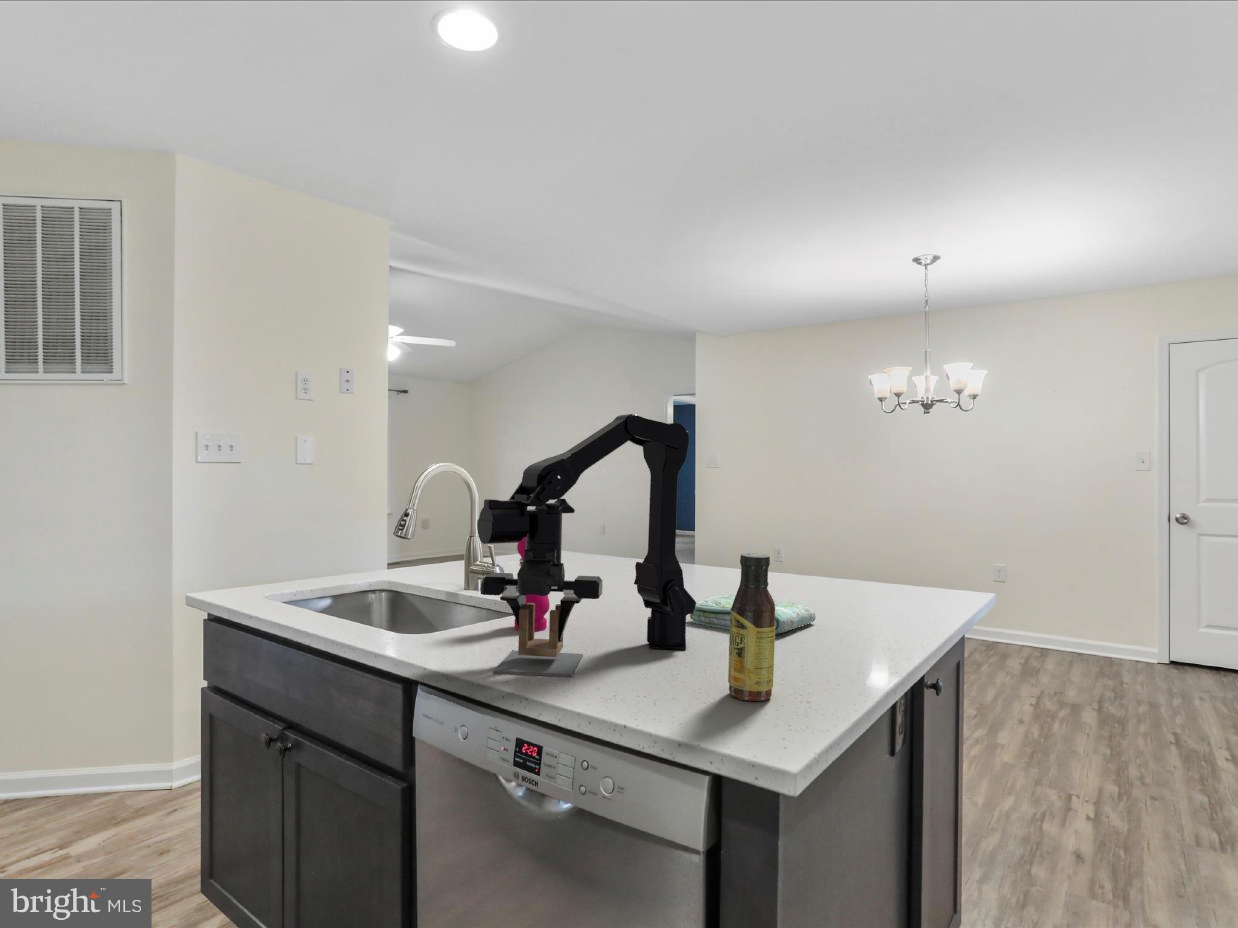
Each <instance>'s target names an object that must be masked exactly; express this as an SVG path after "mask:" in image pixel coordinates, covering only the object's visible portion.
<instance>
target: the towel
mask: <svg viewBox="0 0 1238 928" xmlns="http://www.w3.org/2000/svg"><path fill="white" fill-rule="evenodd" d="M735 596H736V594H735V595H732V594H720V595H718V596H712V597H708V598H706V599H703V600H702V601H700V602H696V606H695V609H694V612H693V614H689V619H690V620H693V621H692V622H693V624H694V623H696V624H695V625H699V624H702V625H701V626H704V625H706V626H705V627H710V626H712V627H711V628H716V627H719V628H718V629H722V628H723V629H724V630H728V629H730V612H731V607H732V604H733V602H734V599H735ZM773 601H774V603H775V635H779V634H782V633H787V632H789V630H790V631H792V629H793V630H795V629H798V628H797V627H799V626H802V625H805V624H808V623H811V622H812V623H814V622H815V621H816V617H817V615H816V613H815V611H813V610H812V609H811V608H809V607H807V606H805V605H802V604H799V603H794V602H790V601H789V602H788V601H777V600H773ZM812 623H811V624H812ZM805 626H806V625H805ZM802 627H803V626H802ZM799 628H800V627H799Z"/></svg>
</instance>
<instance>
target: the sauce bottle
mask: <svg viewBox="0 0 1238 928" xmlns="http://www.w3.org/2000/svg"><path fill="white" fill-rule="evenodd" d="M739 559H740V560H739V563H740V567H741V568H740V581H739V586H738V588H737V590H736V594H735V599H734V602H733V604H732V607H731V612H730V630H729V636H728V637H729V640H728V641H729V644H728V645H729V646H728V673H727V677H728V678H727V682H728V684H729V686H728V691H729V694H730V695H731V696H732V697H734V698H737V699H738V700H741V701H747V702H761V701H762V702H763V701H767V700H770V699H771V697H772V695H773V691H772V690H773V687H774V674H775V673H774V672H775V667H774V666H775V645H776V644H775V643H776V634H775V603H774V601H775V600H774V598H773V596H772V594H771V593H770V591H769V589H768V586H769V567H770V565H771V556H770V555H768V554H766V553H759V552H757V553H756V552H744V553H741V554H740V557H739Z"/></svg>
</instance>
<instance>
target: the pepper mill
mask: <svg viewBox="0 0 1238 928" xmlns="http://www.w3.org/2000/svg"><path fill="white" fill-rule="evenodd" d="M525 549H526V537H523V539H522V541H521V542H519V543H517V544H516V550H517V553H518V555H520V558H519V564H518V565H519V567H521V565H522V563H523V560H524V553H525ZM527 603H535V626H534V632H540V630H541V631H543V630H546V629H547V627H548V626H547V625H548V619H547V618H546V617H545V615H546V614H547V613H548V612H549V610H550V598H549V595H547V596H539V595H529V594H528V595H526V604H527ZM514 629H515V630H517V631H519V629H518V625H517V622H516V619H515V618H514Z"/></svg>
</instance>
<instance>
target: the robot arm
mask: <svg viewBox="0 0 1238 928" xmlns="http://www.w3.org/2000/svg"><path fill="white" fill-rule="evenodd" d="M627 442H630V443H632V444H633V445H636V446H639V447H642V452H643V453H642V454H643V459H644V461H645V463H646V465H647V468H648V470H649V473H650V482H649V483H650V484H649V507H648V508H649V509H648V510H649V511H648V512H649V513H648V535H647V536H648V539H647V541H648V543H647V553H646V556H644V557H645V558H644V559H643V560H642V561H641V562H640V561H636V562H635V564H634V565H635V566H634V568H635V578H634V579H635V580H634V582H633V585H635V586H636V590H637V594H638V595H639V596H640V597H641V598H642V599H641V600H642V602H643V606H644V608H646V609H650V616H648V617H647V623H646V625H647V629H646V630H647V631H646V642H647V644H648V643H649V645H648V648H650V649H663V650H665V649H666V650H668V649H669V650H687V639H686V637H687V636H686V635H687V634H686V633H687V628H686V627H687V616H688V615H690V614H693V612H694V609H695V606H696V603H697V602H696V600H695V599H694V597H693V596H692V595H691V594H690V593H689V591H688V590H687V589H686V588H685V583H684V582H685V581H684V574H683V569H682V567H681V564H680V562H679V559H678V557H677V553H676V548H677V547H676V543H677V538H676V537H677V518H678V517H677V513H678V511H677V509H678V488H679V487H678V485H679V472H680V471H681V469H682V468H683V466H684V463H685V462H686V460H687V457H688V452H689V447H690V446H689V445H690V434H689V430H686V428H685V427H684V426H683V425H682V424H681V423H678V422H670V423H666V422H662V421H659V420H654V419H650V418H646V417H643V416H640V415H638V414H635V413H629V414H628V413H626V414H619V415H617V416H616V417H615V418H614V419H613V420H612V421H610V422H609V423H608V424H606V425H604V426H603V427H601V428H599V429H598V430H597V431H595V432H594V433H592V434H591V435H589V436H587V437H586V438H584V439H583V440H582V441H580V442H579V443H576V445H574V446H573V447H571V448H570V449H568V450H566V451H564V452H562V453H560V454H557V455H556V454H555V455H553V456H549V457H546V458H544V459H542V460H540V461H537V462H534V463H532V464H530V465H528V466H527V467H526V468H525V469H524V470H523V471H522V478H521V482H520V483H519V484H518V486H517V487H516V489H515V490H514V492H513V493H512V494H511V496H510V497H509V498H508V499H507V500H502V499H501V500H499V499H491V498H489V499H488V498H486V499H484V500H483V507H482V509H481V510H480V513H479V517H478V519H477V523H476V525H477V526H476V527H477V528H476V529H477V535H478V538H479V540H480V542H481V544H483V545H493V544H499V545H500V544H515V543H516V544H518V543H519V542H521V541H522V539H523V537H526V549H525V553H524V560H523V563H522V565H521V566H519V567H520V568H519V570H518V572H517V574H516V578H514V574H513V573H514V572H513V573H512V572H491V573H489V574H487V575H486V576H484V577H483V578H482V579H481V584H480V595H483V596H499V599H500V601H501V602H506V603H507V605H508V606H509V607H510V609H511V611H512V614H513V616H514V620H515V619H516V622H517V625H518V629H519V610H520V609H526V595H528V594H529V595H539V596H547V595H548V596H549V595H550V594H551V592H553V593H555V592H556V593H558V592H559V593H563V595H564V596H562V598H561V599H560V600H559V601H560V602H559V604H560V616H559V624H558V641H560V640H561V638H562V635H563V636H564V632H565V629H566V626H567V623H568V620H569V618H570V615H571V613H572V611H573V608H574V606H575V604H580V603H581V602H582V600H587V599H589V600H597V599H600V598H601V596H602V594H603V579H602V578H601V577H600V575H599V576H597V575H578V576H576V578H575V579H574V580H566V578H565V577H566V575H565V572H566V570H565V565H564V562H562V543H563V542H562V541H563V538H562V537H563V535H562V534H563V533H562V532H563V514H574V513H575V512H576V510H575V508H574V507H572V505H571V504H569V503H568V501H567V500H566V498H563V497H564V496H565V495H566V494H567V493H568V492H569V491H570V490H571V489H572V488H573V487H574V486H575V485H576V484H577V482H578V480H579V478H580V477H581V475H582V474H584V472H585V471H587V470H588V469H590V468H591V467H592V466H594V465H596V464H597V463H598V462H599V461H601V460H603V459H604V458H606V457H607V456H609V455H610V454H611V453H613V452H614V451H616V450H617V449H619V448H620V447H622V446H623V445H625V444H626V443H627ZM549 501H554V502H549ZM528 507H533V508H532V509H531V508H528Z"/></svg>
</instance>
